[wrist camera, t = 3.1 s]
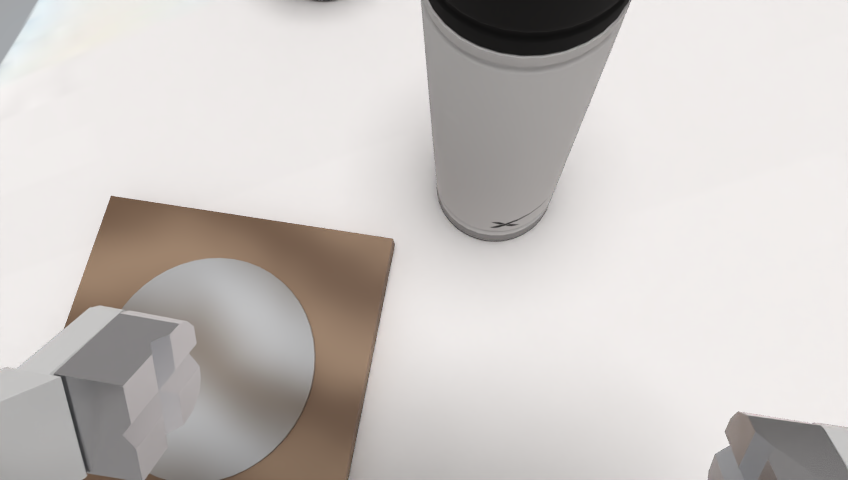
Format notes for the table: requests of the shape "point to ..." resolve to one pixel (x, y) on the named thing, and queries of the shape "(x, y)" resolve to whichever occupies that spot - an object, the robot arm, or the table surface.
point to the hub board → (250, 332)
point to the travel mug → (510, 101)
